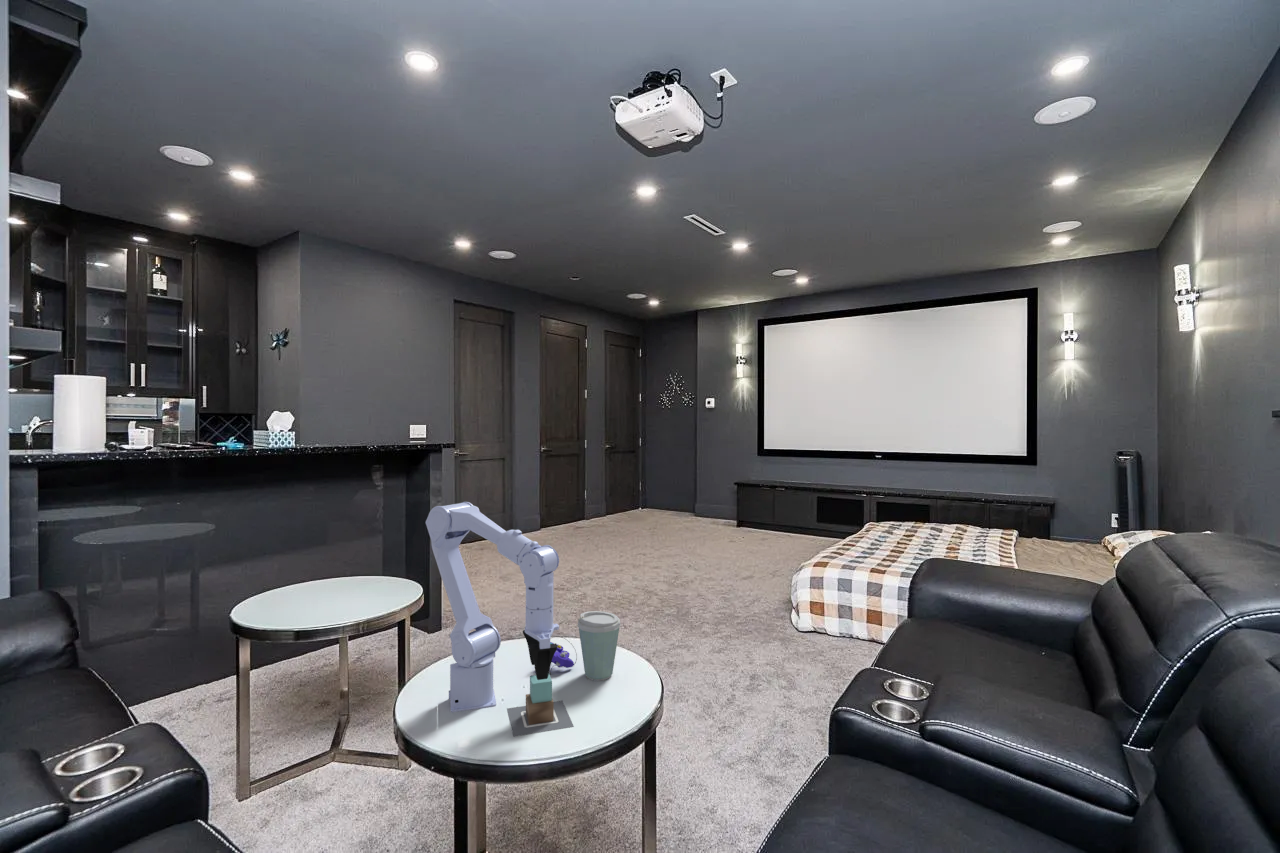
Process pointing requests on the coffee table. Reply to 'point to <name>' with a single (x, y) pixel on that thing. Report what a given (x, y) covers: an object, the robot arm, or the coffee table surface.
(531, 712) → the walnut block
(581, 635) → the disposable coffee cup
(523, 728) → the mat
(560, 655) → the game controller
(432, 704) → the coffee table surface
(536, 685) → the teal cube
